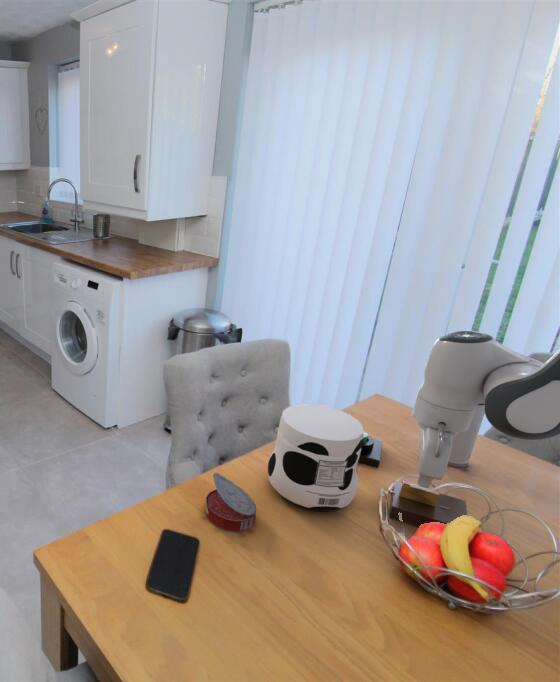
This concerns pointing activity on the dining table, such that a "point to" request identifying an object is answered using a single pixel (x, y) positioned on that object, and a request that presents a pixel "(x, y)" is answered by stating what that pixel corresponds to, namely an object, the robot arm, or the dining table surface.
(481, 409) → the travel mug
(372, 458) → the alarm box
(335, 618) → the dining table surface
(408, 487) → the lock knob
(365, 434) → the alarm button
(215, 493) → the canned food
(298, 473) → the milk container
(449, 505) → the lock plate
